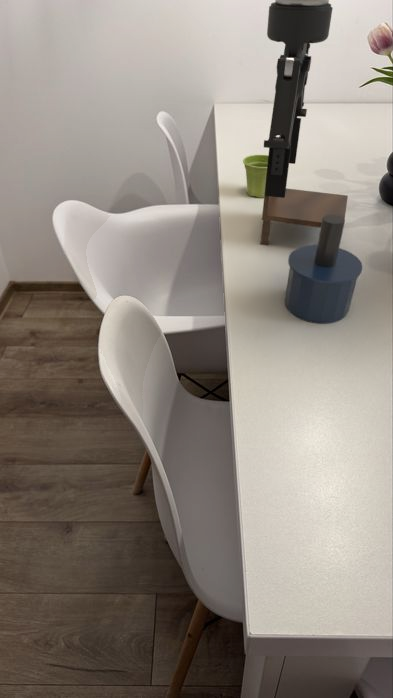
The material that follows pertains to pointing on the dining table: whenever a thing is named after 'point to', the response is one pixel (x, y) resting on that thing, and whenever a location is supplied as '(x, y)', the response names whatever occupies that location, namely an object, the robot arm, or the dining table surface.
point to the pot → (318, 299)
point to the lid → (326, 256)
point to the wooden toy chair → (300, 209)
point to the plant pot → (256, 174)
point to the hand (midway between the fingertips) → (281, 178)
